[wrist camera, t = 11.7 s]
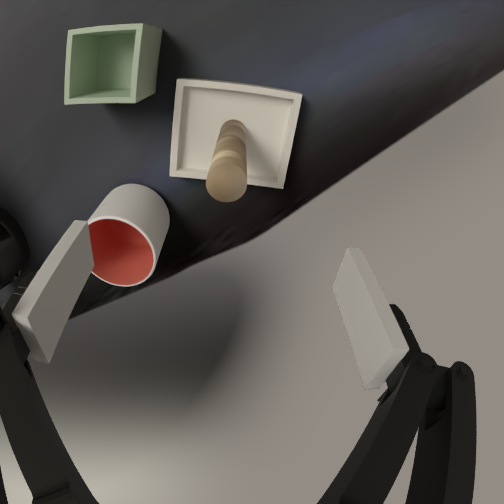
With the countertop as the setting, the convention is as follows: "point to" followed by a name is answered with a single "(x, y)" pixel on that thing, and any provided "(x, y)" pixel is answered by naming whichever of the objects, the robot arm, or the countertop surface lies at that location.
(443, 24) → the countertop surface
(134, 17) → the countertop surface
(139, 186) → the cup
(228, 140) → the dowel
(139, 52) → the pen pot
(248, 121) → the dish
